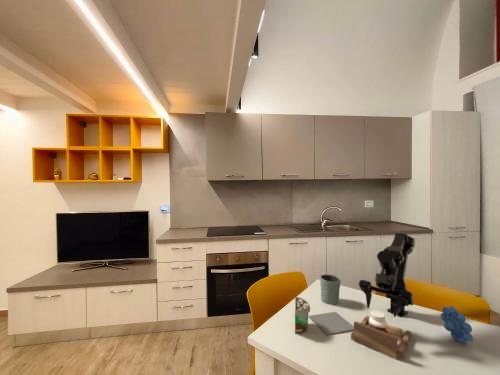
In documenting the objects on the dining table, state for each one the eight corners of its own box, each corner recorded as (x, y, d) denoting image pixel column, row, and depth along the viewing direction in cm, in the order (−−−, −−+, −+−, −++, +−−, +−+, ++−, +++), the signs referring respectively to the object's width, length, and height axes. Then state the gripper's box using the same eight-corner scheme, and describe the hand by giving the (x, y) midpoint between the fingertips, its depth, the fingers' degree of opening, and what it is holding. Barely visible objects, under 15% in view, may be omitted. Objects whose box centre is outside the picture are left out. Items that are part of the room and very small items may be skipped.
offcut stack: (371, 324, 102) (371, 318, 102) (404, 335, 94) (404, 329, 94) (367, 330, 98) (367, 324, 98) (401, 343, 90) (401, 336, 90)
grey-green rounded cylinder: (323, 294, 129) (323, 272, 129) (342, 300, 123) (343, 276, 123) (317, 301, 121) (317, 278, 121) (337, 307, 115) (337, 283, 115)
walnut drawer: (366, 320, 104) (366, 304, 104) (411, 336, 93) (411, 318, 93) (350, 339, 91) (350, 321, 91) (400, 361, 79) (400, 340, 79)
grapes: (432, 331, 96) (432, 302, 96) (446, 330, 97) (446, 300, 97) (462, 351, 85) (462, 317, 85) (477, 349, 86) (477, 315, 86)
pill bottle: (389, 350, 85) (389, 319, 85) (370, 346, 87) (370, 316, 87) (385, 340, 91) (385, 311, 91) (367, 336, 93) (367, 308, 93)
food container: (311, 337, 92) (311, 311, 92) (294, 335, 93) (295, 310, 93) (309, 320, 104) (309, 297, 104) (295, 318, 105) (295, 296, 105)
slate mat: (335, 312, 111) (335, 311, 111) (356, 329, 97) (356, 328, 97) (308, 316, 107) (308, 315, 107) (326, 335, 93) (326, 334, 93)
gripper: (360, 260, 102) (350, 294, 94) (412, 270, 89) (406, 311, 81) (366, 274, 107) (357, 307, 99) (415, 286, 95) (410, 325, 86)
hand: (380, 311), depth 91 cm, fingers open, 9 cm apart
